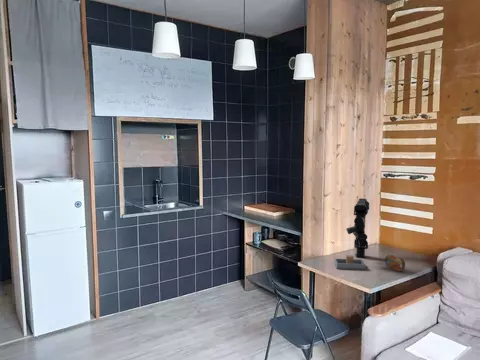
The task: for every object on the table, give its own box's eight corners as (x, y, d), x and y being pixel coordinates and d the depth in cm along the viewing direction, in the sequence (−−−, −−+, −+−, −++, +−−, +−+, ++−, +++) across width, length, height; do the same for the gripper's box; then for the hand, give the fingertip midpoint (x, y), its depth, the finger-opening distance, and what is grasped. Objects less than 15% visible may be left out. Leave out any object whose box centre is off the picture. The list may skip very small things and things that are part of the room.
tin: (384, 266, 242) (384, 253, 241) (388, 265, 243) (388, 252, 242) (401, 273, 228) (402, 259, 227) (405, 272, 229) (406, 259, 228)
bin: (334, 263, 246) (334, 258, 245) (361, 264, 244) (361, 259, 243) (336, 268, 235) (336, 263, 235) (365, 270, 233) (365, 264, 233)
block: (345, 264, 242) (346, 255, 241) (352, 264, 241) (352, 255, 241) (346, 266, 238) (347, 256, 237) (353, 266, 237) (353, 257, 237)
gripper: (345, 220, 257) (344, 242, 259) (350, 225, 239) (349, 249, 240) (361, 220, 256) (361, 242, 257) (367, 226, 238) (367, 250, 239)
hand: (359, 246), depth 248 cm, fingers open, 9 cm apart
